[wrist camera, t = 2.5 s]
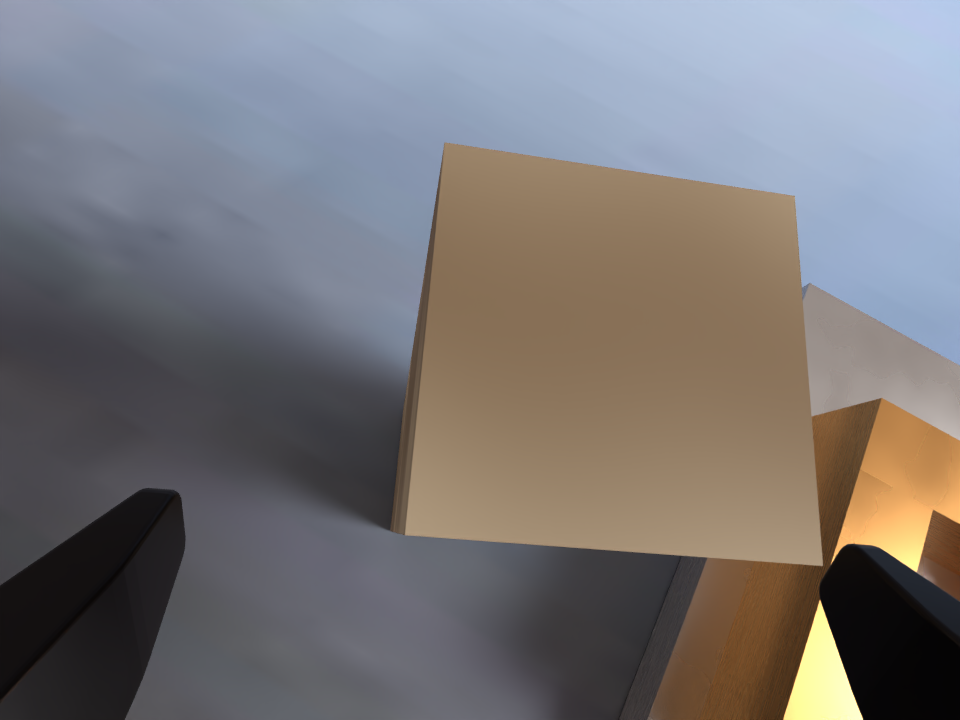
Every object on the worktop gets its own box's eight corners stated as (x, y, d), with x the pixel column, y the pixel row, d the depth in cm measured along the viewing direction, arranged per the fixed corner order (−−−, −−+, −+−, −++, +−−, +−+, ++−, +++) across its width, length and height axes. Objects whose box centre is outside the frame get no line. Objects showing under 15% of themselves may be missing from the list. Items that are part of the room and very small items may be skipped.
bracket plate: (974, 1104, 16) (1198, 1322, 11) (558, 877, 16) (624, 1010, 11) (1089, 469, 21) (1270, 454, 17) (780, 299, 21) (882, 241, 17)
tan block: (513, 540, 18) (823, 566, 5) (390, 531, 17) (404, 534, 5) (520, 419, 19) (795, 195, 6) (403, 407, 18) (444, 142, 6)
